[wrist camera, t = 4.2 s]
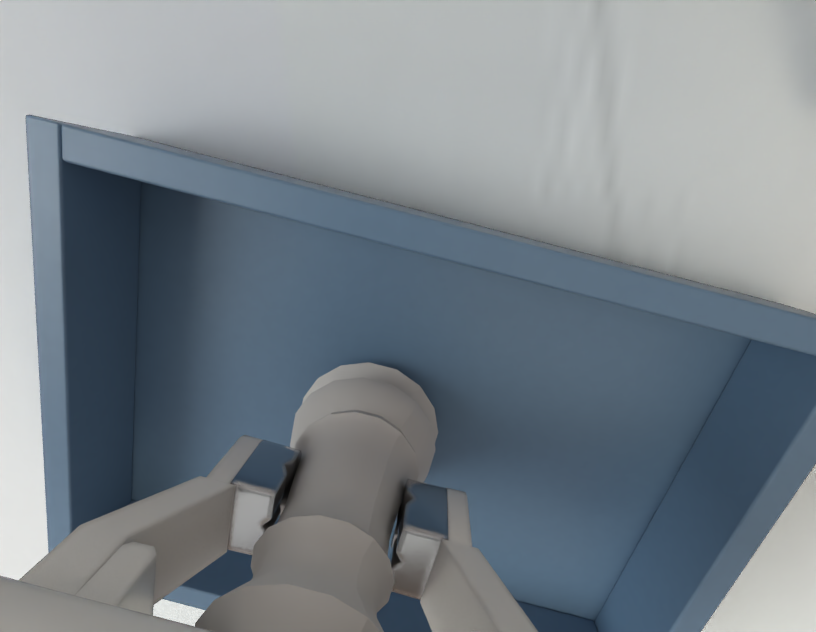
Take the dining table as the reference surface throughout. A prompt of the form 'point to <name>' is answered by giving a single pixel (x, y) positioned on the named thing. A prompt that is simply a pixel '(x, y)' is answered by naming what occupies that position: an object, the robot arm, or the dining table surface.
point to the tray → (412, 374)
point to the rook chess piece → (336, 508)
